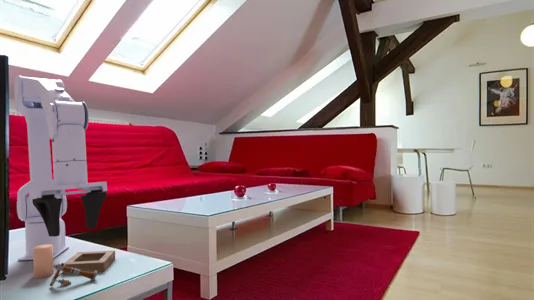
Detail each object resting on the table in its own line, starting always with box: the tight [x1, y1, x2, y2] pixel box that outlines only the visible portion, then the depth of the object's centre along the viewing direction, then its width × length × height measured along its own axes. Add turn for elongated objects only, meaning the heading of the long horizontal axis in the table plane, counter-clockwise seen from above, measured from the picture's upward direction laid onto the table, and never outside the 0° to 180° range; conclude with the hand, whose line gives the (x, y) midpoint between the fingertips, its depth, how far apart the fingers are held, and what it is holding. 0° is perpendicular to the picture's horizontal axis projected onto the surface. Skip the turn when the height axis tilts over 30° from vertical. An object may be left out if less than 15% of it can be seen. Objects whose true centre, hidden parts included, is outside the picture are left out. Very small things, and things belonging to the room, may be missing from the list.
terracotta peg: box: [32, 244, 54, 279], centre depth 74 cm, size 4×4×6 cm
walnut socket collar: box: [61, 250, 116, 275], centre depth 79 cm, size 8×8×2 cm
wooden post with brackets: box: [49, 262, 98, 287], centre depth 69 cm, size 2×8×4 cm, turn 119°
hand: (73, 232), depth 67 cm, fingers open, 7 cm apart
